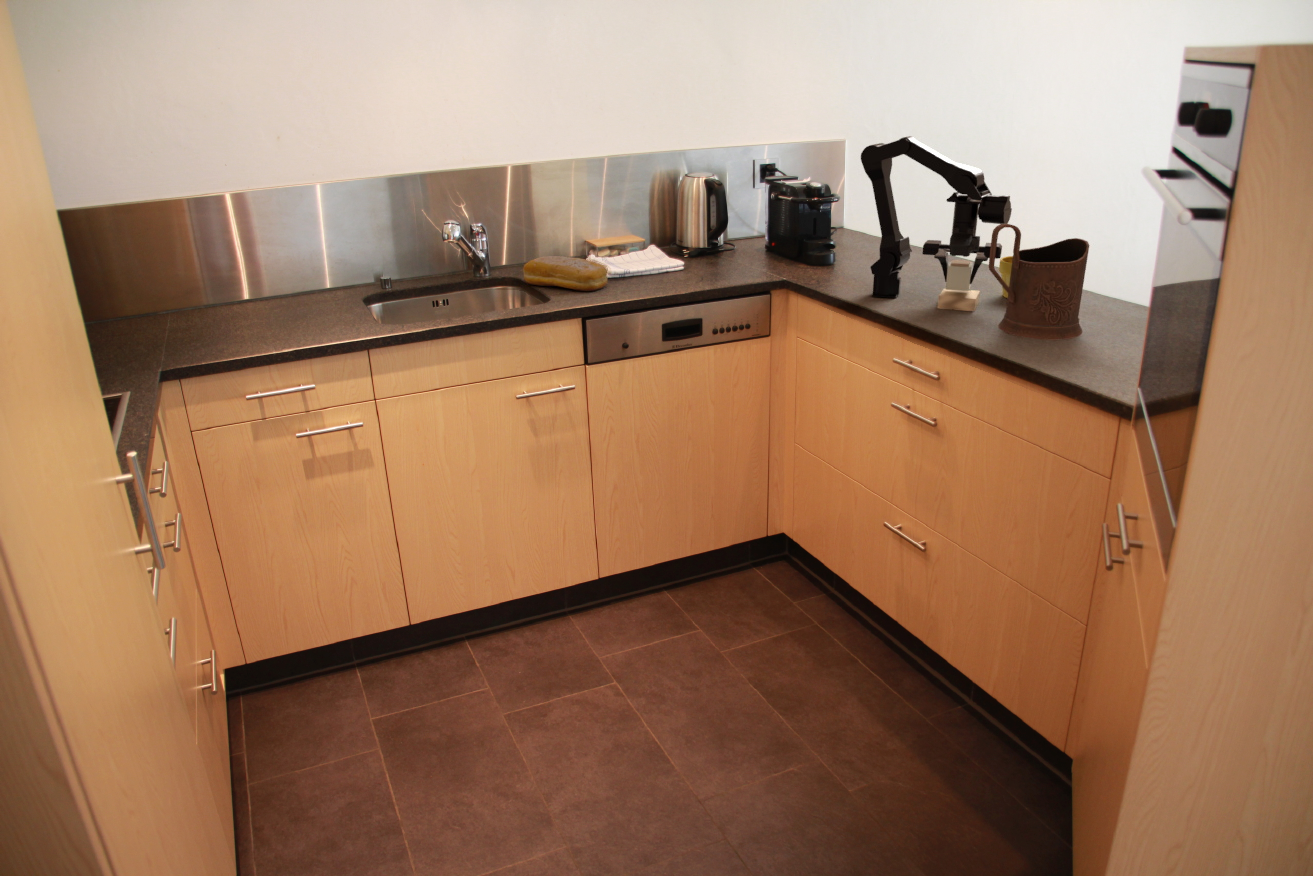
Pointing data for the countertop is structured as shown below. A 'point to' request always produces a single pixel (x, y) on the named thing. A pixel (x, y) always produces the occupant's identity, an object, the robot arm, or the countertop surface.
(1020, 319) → the cup holder
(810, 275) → the countertop surface
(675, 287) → the countertop surface
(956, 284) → the cream lidded box
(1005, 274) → the plant pot
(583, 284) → the bread
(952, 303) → the beech block
